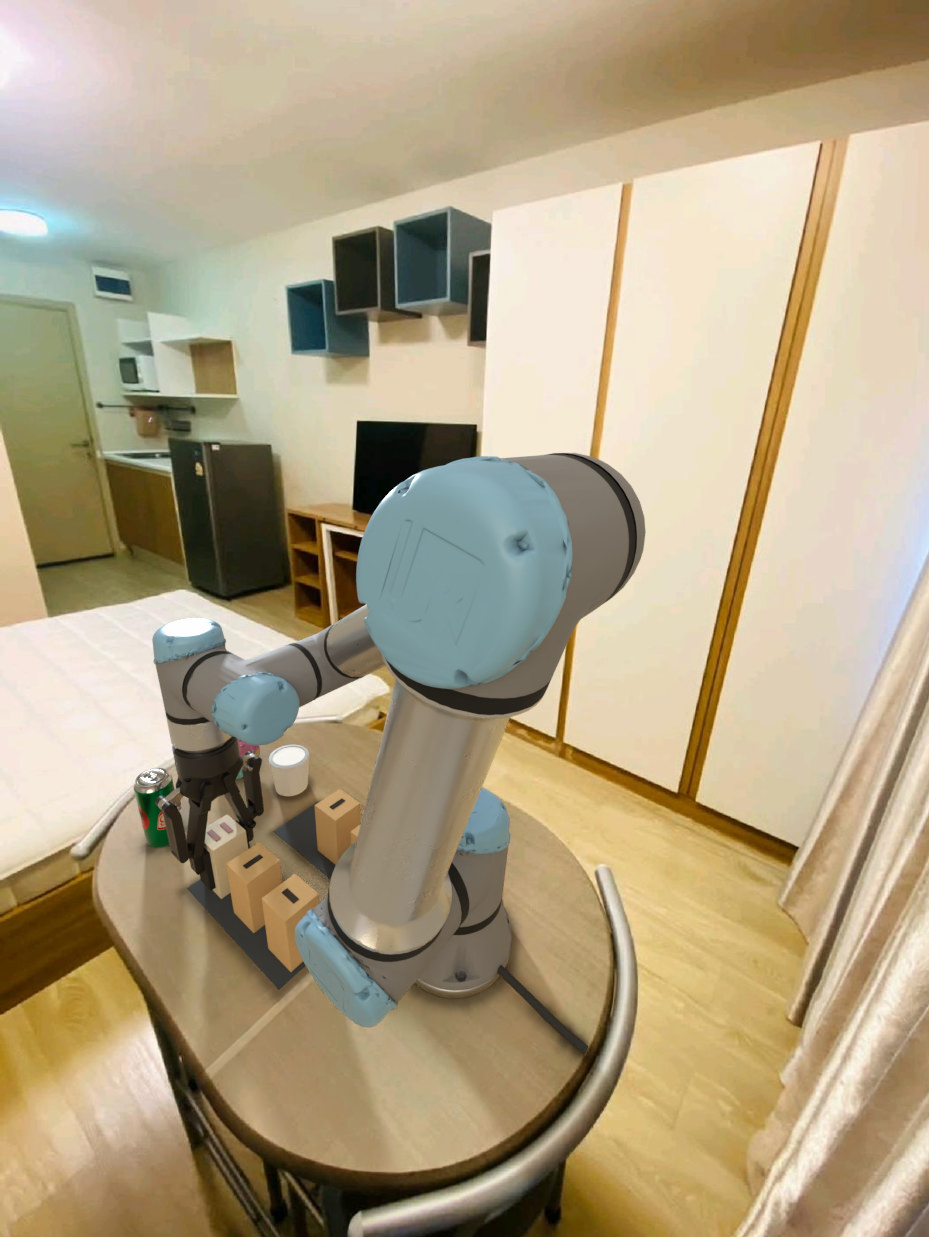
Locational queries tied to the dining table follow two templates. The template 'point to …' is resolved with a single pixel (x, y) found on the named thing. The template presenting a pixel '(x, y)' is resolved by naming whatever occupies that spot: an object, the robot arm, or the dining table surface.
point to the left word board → (242, 934)
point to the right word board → (305, 839)
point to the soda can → (153, 804)
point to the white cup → (290, 769)
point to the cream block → (224, 849)
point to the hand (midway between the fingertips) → (226, 871)
